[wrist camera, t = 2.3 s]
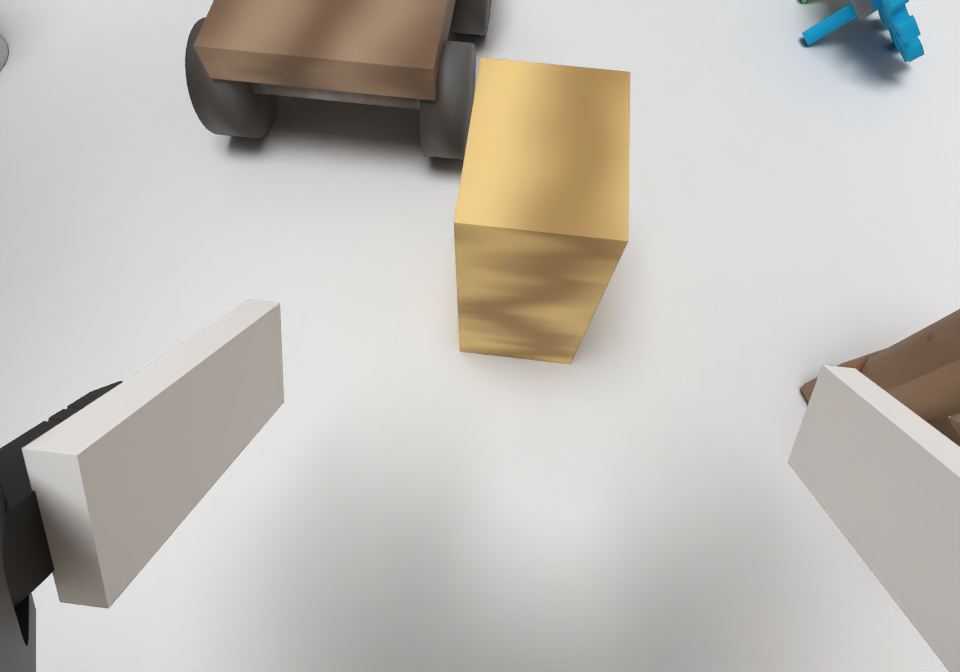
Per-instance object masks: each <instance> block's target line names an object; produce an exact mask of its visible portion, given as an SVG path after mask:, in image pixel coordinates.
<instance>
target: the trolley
mask: <svg viewBox="0 0 960 672" xmlns="http://www.w3.org/2000/svg"><path fill="white" fill-rule="evenodd" d="M490 6H491V0H214V1H213V4H212V6H211V8H210V10H209V12H208V15H207V17H206V18H202V19H200V20H199V21H197V22H196V24H195V25H194V26H193V28H192V30H191V32H190V35H189V38H188V42H187V47H186V57H185V69H186V80H187V86H188V91H189V95H190V98H191V101H192V104H193V107H194V109H195V112H196V114H197V116H198V118H199V119H200V121H201V122H202V124H203V125H204V126H205V127H206V128H207V129H208V130H209V131H211V132H212V133H214V134H219V135H229V136H238V137H248V138H261V137H263V136H264V135H265V134H266V133H267V132H268V130H269V129H270V127H271V124H272V122H273V118H274V114H275V109H276V100H277V95H279V96H289V97H299V98H309V99H319V100H329V101H338V102H348V103H358V104H368V105H378V106H388V107H398V108H408V109H418V110H420V112H419V121H420V140H421V147H422V151H423V154H424V155H425V156H432V157H441V158H451V159H461V160H464V157H465V151H466V145H467V139H468V132H469V126H470V120H471V114H472V108H473V102H474V92H475V70H476V56H475V45H474V43H467V42H457V41H448V36H449V31H450V32H451V33H460V34H471V35H481V36H486V33H487V29H488V22H489V15H490Z"/></svg>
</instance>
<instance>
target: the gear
mask: <svg viewBox="0 0 960 672" xmlns="http://www.w3.org/2000/svg"><path fill="white" fill-rule="evenodd" d="M806 1H808V0H802V3H805V2H806ZM848 2H849V4H848V5H847V6H845V7H844V8H842V9H840V10H839V11H837V12H836V13H834V14H832V15H831V16H829V17H827V18H826V19H824V20H823V21H821V22H819V23H818V24H816V25H814V26H813V27H811V28H810V29H808V30H806V31H805V32H803V33H802V34H803V36H804V38H805V41H806V43H807V45H808V46H809V45H811V44H813V43H814V42H816V41H818V40H819V39H821V38H823V37H824V36H826V35H828V34H829V33H831V32H833V31H834V30H836V29H838V28H839V27H841V26H843V25H844V24H846V23H848V22H849V21H851V20H853V19H854V18H856V17H857V19H858V20H859V21H860V20H861V19H863V18H865V17H866V16H868V15H870V14H871V13H873V12H875V11H877V10H878V11H879V12H878V13H879V16H880V18H881V20H882V22H883V24H884V26H885V28H887V27H888V30H889V33H890V36H891V39H892V41H893V44H894V46H895V48H896V49H897V50H900V53H901V55H902V57H903V59H904V61H905V62H907V61H909V62H910V61H912V60H914V59H916V58H918V57H920V56H922V55H924V51H923V47H922V44H921V42H920V40H919V38H918V37H917V36H919V35H921V34H920V31H919V28H918V26H917V23H916V21H915V18H914V17H913V15H911V16H909V14H908V12H907V9H906V6H905V4H906V3H907V2H909V0H848Z"/></svg>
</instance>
